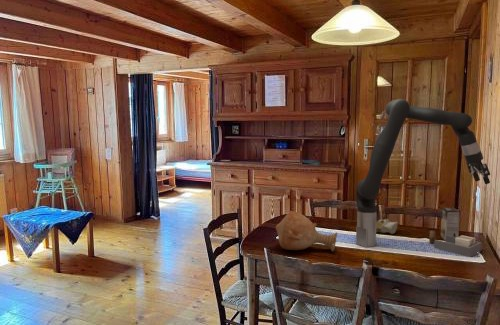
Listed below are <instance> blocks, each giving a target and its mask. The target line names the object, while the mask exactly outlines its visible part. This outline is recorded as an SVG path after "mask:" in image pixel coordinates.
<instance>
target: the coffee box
mask: <svg viewBox="0 0 500 325" xmlns="http://www.w3.org/2000/svg"><path fill="white" fill-rule="evenodd" d="M460 213H461V212H460V211H459V210H458V209H457V208H455V207H446V206H445V207H441V217H440V218H441V219H440V220H441V222H440V236H441V238H442V239H443V240H444V242H445V241H446V235H449V236H454V237H459V233H460V232H459V231H460V230H459V229H460Z"/></svg>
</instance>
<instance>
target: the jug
mask: <svg viewBox="0 0 500 325" xmlns="http://www.w3.org/2000/svg"><path fill="white" fill-rule="evenodd" d="M316 227H317V223H316V222H312V221H311V220H310V219H309V218H308V217H307V216H305V215H304V214H301V213H299V212H297V211H293V210H290V211H288V213H287V214H286V215H285V216H284V217H283V219H282V220H280V222H279V223H278V224H277V225H276V226H275V230H276V233H277V236H278V242H279V246H280V248H282V249H284V250H287V251H302V250H305V249H307V248H309V247H311V246H312V245H314V244H321V245H324V246H326V247H328V248H329V249H330V250H331V253H332V252H334V251H335V248H336V242H337V237H338V232H335V233H333V234H324V233H320V232H318V231H317V229H316Z"/></svg>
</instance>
